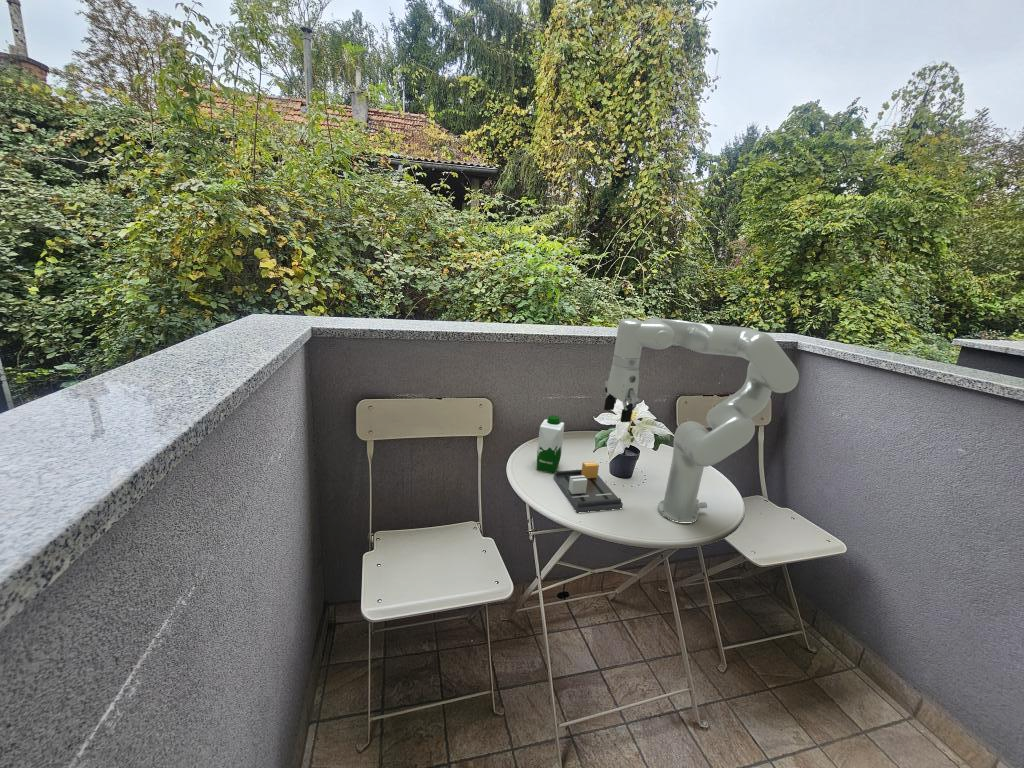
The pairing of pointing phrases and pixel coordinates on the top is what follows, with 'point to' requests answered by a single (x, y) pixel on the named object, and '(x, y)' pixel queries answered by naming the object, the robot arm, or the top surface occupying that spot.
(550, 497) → the top surface
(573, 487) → the block
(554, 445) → the milk carton
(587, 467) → the block
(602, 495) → the panel
